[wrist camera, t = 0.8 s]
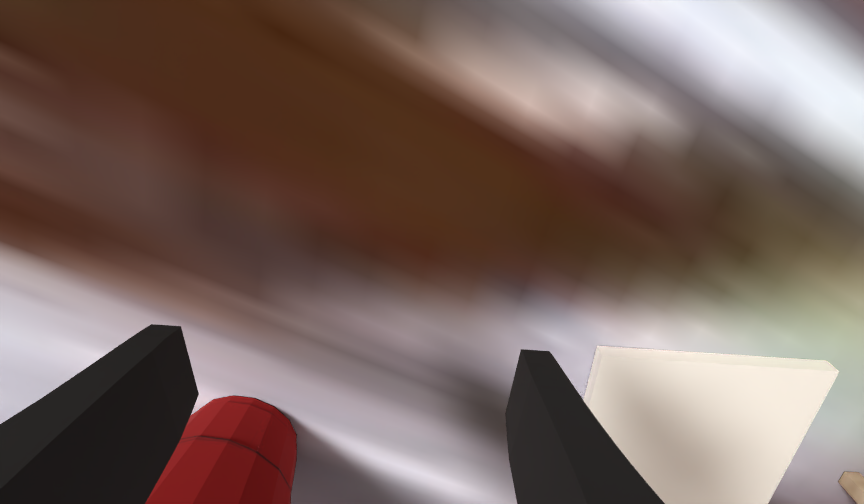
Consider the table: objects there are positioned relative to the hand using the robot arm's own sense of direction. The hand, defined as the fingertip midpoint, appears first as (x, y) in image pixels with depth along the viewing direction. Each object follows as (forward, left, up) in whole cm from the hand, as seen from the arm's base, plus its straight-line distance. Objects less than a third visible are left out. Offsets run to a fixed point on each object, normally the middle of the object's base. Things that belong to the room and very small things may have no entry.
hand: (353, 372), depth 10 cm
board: (-13, -15, -10) cm, 22 cm away
